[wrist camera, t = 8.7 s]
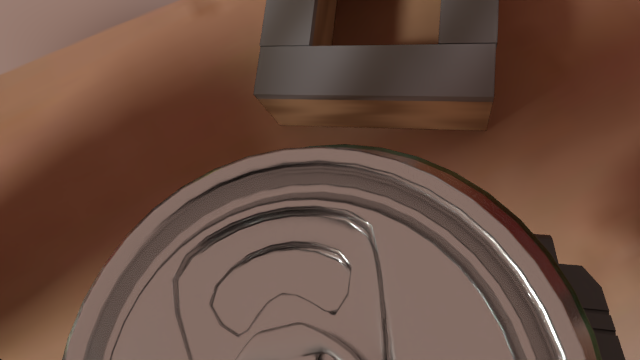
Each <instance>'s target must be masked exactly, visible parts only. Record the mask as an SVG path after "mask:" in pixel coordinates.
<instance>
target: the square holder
mask: <svg viewBox="0 0 640 360" xmlns="http://www.w3.org/2000/svg"><path fill="white" fill-rule="evenodd" d="M336 5H337V0H267V1H266V7H265V14H264V21H263V27H262V34H261V40H260V47H261V48H260V54H259V61H258V67H257V74H256V81H255V87H254V95H255V97H256V98H257V99H258V100H259V101H260V103H261V104H262V105H263V106H264V107H265V108H266V110H267V111H268V112H269V113H270V114H271V115H272V117H273V118H274V119H275V120H276V121H277V123H278V124H279V125H293V126H331V127H369V128H407V129H445V130H483V131H486V130H487V125H488V121H489V117H490V112H491V108H492V104H493V99H494V85H495V55H496V46H497V36H498V6H499V0H441V11H440V27H439V44H428V45H352V46H332V40H333V31H334V23H335V14H336Z"/></svg>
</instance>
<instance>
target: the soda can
mask: <svg viewBox="0 0 640 360" xmlns="http://www.w3.org/2000/svg"><path fill="white" fill-rule="evenodd" d="M62 360H602V358H601V354H600V351H599V347H598V344H597V340H596V337H595V333H594V331H593V329H592V327H591V325H590V323H589V320H588V318H587V316H586V314H585V312H584V310H583V307H582V305H581V303H580V301H579V299H578V296H577V294H576V292H575V290H574V289H573V287H572V286H571V284H570V283H569V281H568V279H567V278H566V276H565V275H564V273H563V272H562V270H561V269H560V267H559V266H558V264H557V263H556V261H555V260H554V258H553V257H552V255H551V253H550V252H549V251H548V250H547V249H546V248H545V246H544V245H543V244H542V243H541V242H540V241H539V240H538V239H537V238H536V236H535V235H534V234H533V233H532V232H531V231H530V230H529V229H528V227H527V226H526V225H525V224H524V223H523V222H522V221H521V220H520V219H519V218H518V217H517V216H516V215H514V214H513V213H512V212H511V211H510V210H508V209H507V208H506V207H505V206H504V205H502V204H501V203H500V202H499V201H498V200H496V199H495V198H494V197H493V196H492V195H490V194H489V193H488V192H486V191H485V190H483V189H481V188H480V187H478V186H476V185H475V184H473V183H471V182H470V181H468V180H466V179H465V178H463V177H462V176H460V175H458V174H457V173H455V172H453V171H451V170H448V169H446V168H444V167H441V166H439V165H436V164H434V163H432V162H429V161H427V160H424V159H422V158H420V157H417V156H413V155H409V154H405V153H401V152H397V151H393V150H389V149H385V148H379V147H369V146H358V145H347V144H341V145H325V146H309V147H304V148H289V149H281V150H276V151H271V152H267V153H262V154H257V155H253V156H248V157H245V158H243V159H240V160H237V161H235V162H232V163H229V164H227V165H224V166H221V167H219V168H216V169H214V170H212V171H210V172H208V173H206V174H205V175H203V176H201V177H199V178H197V179H196V180H194V181H192V182H190V183H188V184H187V185H185V186H183V187H181V188H180V189H179V190H177V191H176V192H175V193H173V194H172V195H171V196H169V197H168V198H167V199H166V200H164V201H163V202H162V203H160V204H159V205H158V206H156V207H155V208H154V209H152V210H151V211H150V212H149V213H148V214H147V215H146V216H145V217H144V218H143V219H142V220H141V221H140V222H139V223H138V224H137V225H136V226H135V227H134V228H133V229H132V230H131V231H130V232H129V233H128V234H127V235H126V237H125V238H124V239H123V241H122V242H121V243H120V245H119V246H118V247H117V248H116V250H115V251H114V252H113V254H112V255H111V256H110V258H109V259H108V260H107V262H106V263H105V264H104V266H103V267H102V269H101V271H100V272H99V274H98V276H97V278H96V279H95V281H94V283H93V285H92V286H91V288H90V290H89V292H88V293H87V295H86V297H85V299H84V300H83V303H82V305H81V308H80V310H79V312H78V315H77V317H76V320H75V322H74V325H73V327H72V330H71V332H70V334H69V337H68V340H67V344H66V347H65V351H64V355H63V359H62Z"/></svg>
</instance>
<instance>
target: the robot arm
mask: <svg viewBox="0 0 640 360" xmlns="http://www.w3.org/2000/svg"><path fill="white" fill-rule="evenodd" d="M534 235H535V236H536V238H537V239H538V240H539V241H540V242H541V243H542V244H543V245H544V246H545V248H546V249H547V250H548V251H549V252H550V253H551V255H552V257H553V258H554V260H555V261H556V263H557V264H558V260H557V256H556V252H555V248H554V243H553V240H552V237H551V236H550V235H539V234H534ZM558 266H559V267H560V269H561V270H562V272H563V273H564V275H565V276H566V278H567V279H568V281H569V283H570V284H571V286H572V287H573V289H574V290H575V292H576V294H577V296H578V299H579V301H580V303H581V305H582V307H583V310H584V312H585V314H586V316H587V318H588V320H589V323H590V325H591V327H592V329H593V331H594V333H595V337H596V340H597V344H598V347H599V351H600V354H601V358H602V360H625V357H624V354H623V351H622V348H621V345H620V342H619V339H618V336H616V334H615V332H616V330H615V327H614V324H613V321H612V318H611V315H609V309H608V306H607V303H606V300H605V297H604V294H603V291H602V288H601V286H600V285H599V284H598V283H597V282H596V281H595V280H594V279H593V277H592V276H591V275H590V274H589V273H588V272H587V271H586V270H585V269H584V268H583V267H582V266H578V265H567V264H558ZM0 360H1V359H0Z"/></svg>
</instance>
